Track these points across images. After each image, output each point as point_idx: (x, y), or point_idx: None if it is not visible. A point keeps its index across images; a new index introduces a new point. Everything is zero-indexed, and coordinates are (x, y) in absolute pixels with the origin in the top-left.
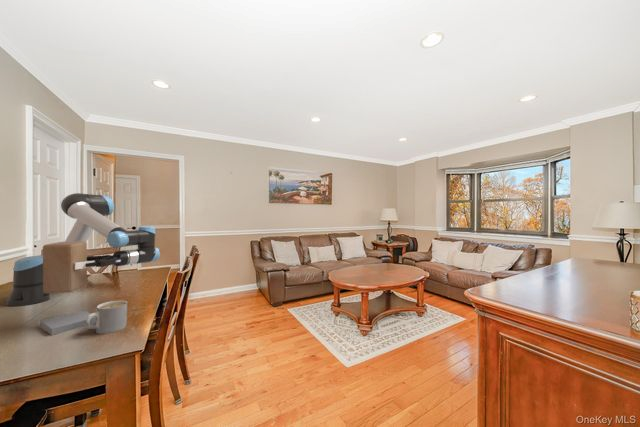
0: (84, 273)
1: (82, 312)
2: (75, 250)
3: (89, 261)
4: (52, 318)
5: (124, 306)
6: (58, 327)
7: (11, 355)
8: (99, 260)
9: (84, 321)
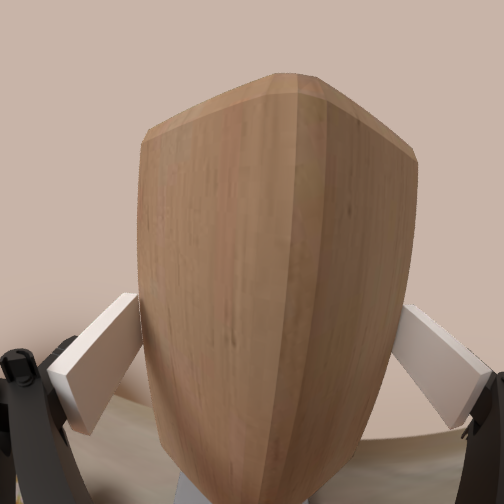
0: (221, 470)
1: None
2: (148, 183)
3: (75, 340)
4: None
5: None
6: (178, 483)
7: (144, 411)
8: (27, 408)
9: None
